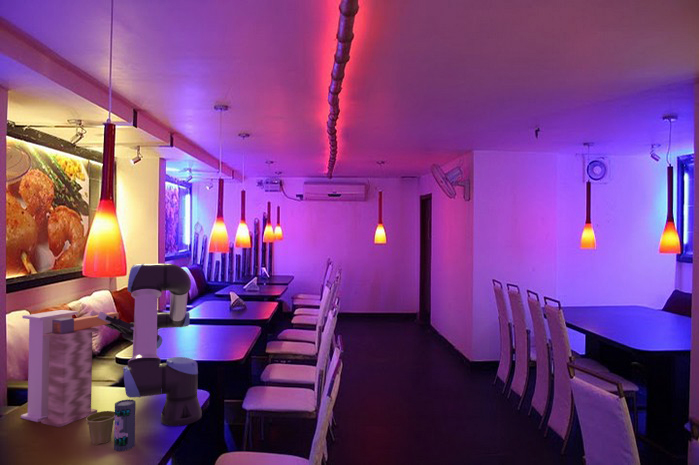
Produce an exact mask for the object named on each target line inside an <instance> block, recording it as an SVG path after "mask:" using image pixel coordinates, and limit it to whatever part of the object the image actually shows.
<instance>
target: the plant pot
mask: <svg viewBox="0 0 699 465" xmlns="http://www.w3.org/2000/svg"><path fill="white" fill-rule="evenodd" d="M114 418H115V411H113V410H103V411H97V412H96V413H94V414H91V415H89V416H86V417H85V421H86V423H87V425H88V430H89V435H90V436H89V437H90V443H91V444H92V445H101V444H106V443H108V442H110V441H111V440H112V434H113V430H114Z"/></svg>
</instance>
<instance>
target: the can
mask: <svg viewBox="0 0 699 465" xmlns="http://www.w3.org/2000/svg"><path fill="white" fill-rule="evenodd" d="M136 403H137V402H136V400H134V399H130V398H129V399H123V400H119V401H117V402H115V403H114V412H115V418H114V423H113V431H114V432H113V434H114V435H113V450H115V451H116V452H124V451H128V450H129V451H130V450H131V449H133V448H134V447H135V445H136V408H137V407H136V405H137V404H136Z"/></svg>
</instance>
